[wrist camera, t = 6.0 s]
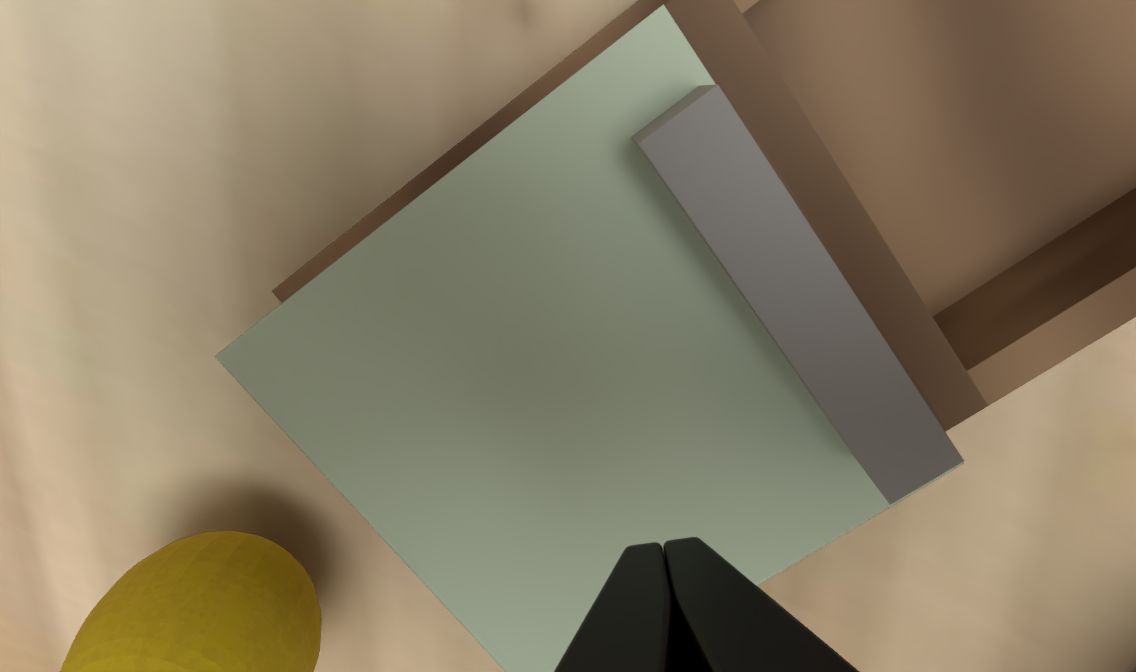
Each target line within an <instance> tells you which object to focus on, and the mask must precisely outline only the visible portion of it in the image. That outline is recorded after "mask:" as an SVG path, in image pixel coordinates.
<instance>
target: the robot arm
mask: <svg viewBox="0 0 1136 672" xmlns="http://www.w3.org/2000/svg"><path fill="white" fill-rule="evenodd" d="M663 551H664V552H663ZM554 672H859V671H858V670H857V669H856V668H855V667H853V666H852V665H851V664H850V663H849V662H847V661H846V660H845V659H844V658H843V657H841V656H840V655H839V654H838V653H837V652H835V651H834V650H833V649H832V648H831V647H829V646H828V645H827V644H826V643H825V642H823V641H822V640H821V639H820V638H819V637H817V636H816V635H815V634H814V633H813V632H811V631H810V630H809V629H808V628H807V627H805V626H804V625H803V624H802V623H801V622H799V621H798V620H797V619H796V618H795V617H793V616H792V615H791V614H790V613H789V612H788V611H786V610H785V609H784V608H783V607H782V606H780V605H779V604H778V603H777V602H776V601H774V600H773V599H772V598H771V597H770V596H768V595H767V594H766V593H765V592H764V591H762V590H761V589H760V588H759V587H758V586H756V585H755V584H754V583H753V582H752V581H750V580H749V579H748V578H747V577H746V576H744V575H743V574H742V573H741V572H740V571H738V570H737V569H736V568H735V567H734V566H732V565H731V564H730V563H729V562H728V561H726V560H725V559H724V558H723V557H722V556H720V555H719V554H718V553H717V552H716V551H714V550H713V549H712V548H711V547H710V546H708V545H707V544H706V543H705V542H704V541H702V540H701V539H700V538H698V537H688V538H681V539H674V540H668V541H666V542H665V543H664V545H663V548H662V546H661V544H659V543H657V542H652V543H644V544H637V545H630V546H628V547H626V548H625V549H624V551H623V553H622V554H621V556H620V558H619V560H618V561H617V563H616V565H615V566H614V568H613V570H612V572H611V573H610V575H609V577H608V579H607V580H606V582H605V584H604V586H603V587H602V589H601V591H600V592H599V594H598V596H597V598H596V599H595V601H594V603H593V605H592V606H591V608H590V610H589V611H588V613H587V615H586V617H585V618H584V620H583V622H582V624H581V625H580V627H579V629H578V631H577V632H576V634H575V636H574V637H573V639H572V641H571V643H570V644H569V646H568V648H567V650H566V651H565V653H564V655H563V656H562V658H561V660H560V662H559V663H558V665H557V667H556V669H555V670H554Z"/></svg>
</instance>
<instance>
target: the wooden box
mask: <svg viewBox="0 0 1136 672" xmlns="http://www.w3.org/2000/svg"><path fill="white" fill-rule="evenodd" d="M663 4H664V6H665V7H666V9H667V10H668V12H669V14H670V15H671V17H672V18H673V20H674V21H675V23H676V24H677V26H678V27H679V29H680V30H681V32H682V33H683V35H684V36H685V38H686V40H687V41H688V43H689V44H690V46H691V47H692V49H693V50H694V52H695V53H696V55H697V56H698V58H699V59H700V61H701V62H702V64H703V66H704V67H705V69H706V70H707V72H708V73H709V75H710V76H711V78H712V79H713V81H714V82H715V84H718V85H719V87H720V88H721V90H722V91H723V93H724V94H725V96H726V97H727V99H728V100H729V102H730V104H731V105H732V107H733V108H734V110H735V111H736V113H737V114H738V116H739V117H740V119H741V120H742V122H743V123H744V125H745V127H746V128H747V130H748V131H749V133H750V134H751V136H752V137H753V139H754V140H755V142H756V143H757V145H758V146H759V148H760V149H761V151H762V153H763V154H764V156H765V157H766V159H767V160H768V162H769V163H770V165H771V166H772V168H773V169H774V171H775V172H776V174H777V175H778V177H779V179H780V180H781V182H782V183H783V185H784V186H785V188H786V189H787V191H788V192H789V194H790V195H791V197H792V198H793V200H794V202H795V203H796V205H797V206H798V208H799V209H800V211H801V212H802V214H803V215H804V217H805V218H806V220H807V221H808V223H809V224H810V226H811V228H812V229H813V231H814V232H815V234H816V235H817V237H818V238H819V240H820V241H821V243H822V244H823V246H824V247H825V249H826V250H827V252H828V254H829V255H830V257H831V258H832V260H833V261H834V263H835V264H836V266H837V267H838V269H839V270H840V272H841V273H842V275H843V277H844V278H845V280H846V281H847V283H848V284H849V286H850V287H851V289H852V290H853V292H854V293H855V295H856V296H857V298H858V299H859V301H860V303H861V304H862V306H863V307H864V309H865V310H866V312H867V313H868V315H869V316H870V318H871V319H872V321H873V322H874V324H875V325H876V327H877V329H878V330H879V332H880V333H881V335H882V336H883V338H884V339H885V341H886V342H887V344H888V345H889V347H890V348H891V350H892V352H893V353H894V355H895V356H896V358H897V359H898V361H899V362H900V364H901V365H902V367H903V368H904V370H905V371H906V373H907V374H908V376H909V378H910V379H911V381H912V382H913V384H914V385H915V387H916V388H917V390H918V391H919V393H920V394H921V396H922V397H923V399H924V400H925V402H926V404H927V405H928V407H929V408H930V410H931V411H932V413H933V414H934V416H935V417H936V419H937V420H938V422H939V423H940V425H941V427H942V428H943V430H944V431H947V430H949V429H950V428H952V427H954V426H955V425H957V424H959V423H960V422H962V421H964V420H965V419H967V418H969V417H970V416H972V415H974V414H975V413H977V412H979V411H980V410H982V409H984V408H985V407H987V406H989V405H990V404H992V403H993V402H995V401H997V400H998V399H1000V398H1002V397H1003V396H1005V395H1007V394H1008V393H1010V392H1012V391H1013V390H1015V389H1017V388H1018V387H1020V386H1022V385H1023V384H1025V383H1027V382H1028V381H1030V380H1032V379H1033V378H1035V377H1037V376H1038V375H1040V374H1042V373H1043V372H1045V371H1047V370H1048V369H1050V368H1052V367H1053V366H1055V365H1057V364H1058V363H1060V362H1062V361H1063V360H1065V359H1066V358H1068V357H1070V356H1071V355H1073V354H1075V353H1076V352H1078V351H1080V350H1081V349H1083V348H1085V347H1086V346H1088V345H1090V344H1091V343H1093V342H1095V341H1096V340H1098V339H1100V338H1101V337H1103V336H1105V335H1106V334H1108V333H1110V332H1111V331H1113V330H1115V329H1116V328H1118V327H1120V326H1121V325H1123V324H1125V323H1126V322H1128V321H1130V320H1131V319H1133V318H1135V317H1136V0H639V1H638V2H636V3H635V4H634V5H633V6H631V7H630V8H629V9H628V10H626V11H625V12H624V13H622V14H621V15H620V16H619V17H617V18H616V19H615V20H614V21H612V22H611V23H610V24H609V25H607V26H606V27H605V28H604V29H602V30H601V31H600V32H598V33H597V34H596V35H595V36H593V37H592V38H591V39H590V40H588V41H587V42H586V43H585V44H583V45H582V46H581V47H580V48H578V49H577V50H576V51H574V52H573V53H572V54H571V55H569V56H568V57H567V58H566V59H564V60H563V61H562V62H561V63H559V64H558V65H557V66H556V67H554V68H553V69H552V70H550V71H549V72H548V73H547V74H545V75H544V76H543V77H542V78H540V79H539V80H538V81H537V82H535V83H534V84H533V85H532V86H530V87H529V88H528V89H526V90H525V91H524V92H523V93H521V94H520V95H519V96H518V97H516V98H515V99H514V100H513V101H511V102H510V103H509V104H508V105H506V106H505V107H504V108H502V109H501V110H500V111H499V112H497V113H496V114H495V115H494V116H492V117H491V118H490V119H489V120H487V121H486V122H485V123H484V124H482V125H481V126H480V127H478V128H477V129H476V130H475V131H473V132H472V133H471V134H470V135H468V136H467V137H466V138H465V139H463V140H462V141H461V142H460V143H458V144H457V145H456V146H454V147H453V148H452V149H451V150H449V151H448V152H447V153H446V154H444V155H443V156H442V157H441V158H439V159H438V160H437V161H436V162H434V163H433V164H432V165H430V166H429V167H428V168H427V169H425V170H424V171H423V172H422V173H420V174H419V175H418V176H417V177H415V178H414V179H413V180H411V181H410V182H409V183H408V184H406V185H405V186H404V187H403V188H401V189H400V190H399V191H398V192H396V193H395V194H394V195H393V196H391V197H390V198H389V199H387V200H386V201H385V202H384V203H382V204H381V205H380V206H379V207H377V208H376V209H375V210H374V211H372V212H371V213H370V214H369V215H367V216H366V217H365V218H363V219H362V220H361V221H360V222H358V223H357V224H356V225H355V226H353V227H352V228H351V229H350V230H348V231H347V232H346V233H345V234H343V235H342V236H341V237H339V238H338V239H337V240H336V241H334V242H333V243H332V244H331V245H329V246H328V247H327V248H326V249H324V250H323V251H322V252H321V253H319V254H318V255H317V256H315V257H314V258H313V259H312V260H310V261H309V262H308V263H307V264H305V265H304V266H303V267H302V268H300V269H299V270H298V271H297V272H295V273H294V274H293V275H291V276H290V277H289V278H288V279H286V280H285V281H284V282H283V283H281V284H280V285H279V286H278V287H276V288H275V289H274V290H273V291H272V292H273V293H274V294H275V296H276V297H277V298H278V299H279V300H280V301H281V302H282V303H283V302H285V301H286V300H287V299H288V298H290V297H291V296H292V295H293V294H295V293H296V292H297V291H299V290H300V289H301V288H302V287H304V286H305V285H306V284H307V283H309V282H310V281H311V280H313V279H314V278H315V277H316V276H318V275H319V274H320V273H321V272H323V271H324V270H325V269H327V268H328V267H329V266H330V265H332V264H333V263H334V262H336V261H337V260H338V259H339V258H341V257H342V256H343V255H344V254H346V253H347V252H348V251H350V250H351V249H352V248H353V247H355V246H356V245H357V244H358V243H360V242H361V241H362V240H364V239H365V238H366V237H367V236H369V235H370V234H371V233H372V232H374V231H375V230H376V229H378V228H379V227H380V226H381V225H383V224H384V223H385V222H387V221H388V220H389V219H390V218H392V217H393V216H394V215H395V214H397V213H398V212H399V211H401V210H402V209H403V208H404V207H406V206H407V205H408V204H409V203H411V202H412V201H413V200H415V199H416V198H417V197H418V196H420V195H421V194H422V193H423V192H425V191H426V190H427V189H429V188H430V187H431V186H432V185H434V184H435V183H436V182H438V181H439V180H440V179H441V178H443V177H444V176H445V175H446V174H448V173H449V172H450V171H452V170H453V169H454V168H455V167H457V166H458V165H459V164H460V163H462V162H463V161H464V160H466V159H467V158H468V157H469V156H471V155H472V154H473V153H474V152H476V151H477V150H478V149H480V148H481V147H482V146H483V145H485V144H486V143H487V142H488V141H490V140H491V139H492V138H494V137H495V136H496V135H497V134H499V133H500V132H501V131H503V130H504V129H505V128H506V127H508V126H509V125H510V124H511V123H513V122H514V121H515V120H517V119H518V118H519V117H520V116H522V115H523V114H524V113H525V112H527V111H528V110H529V109H531V108H532V107H533V106H534V105H536V104H537V103H538V102H539V101H541V100H542V99H543V98H545V97H546V96H547V95H548V94H550V93H551V92H552V91H554V90H555V89H556V88H557V87H559V86H560V85H561V84H562V83H564V82H565V81H566V80H568V79H569V78H570V77H571V76H573V75H574V74H575V73H576V72H578V71H579V70H580V69H582V68H583V67H584V66H585V65H587V64H588V63H589V62H590V61H592V60H593V59H594V58H596V57H597V56H598V55H599V54H601V53H602V52H603V51H605V50H606V49H607V48H608V47H610V46H611V45H612V44H613V43H615V42H616V41H617V40H619V39H620V38H621V37H622V36H624V35H625V34H626V33H627V32H629V31H630V30H631V29H633V28H634V27H635V26H636V25H638V24H639V23H640V22H641V21H643V20H644V19H645V18H647V17H648V16H649V15H650V14H652V13H653V12H654V11H655V10H657V9H658V8H659V7H661V6H662V5H663Z"/></svg>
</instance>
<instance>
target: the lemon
mask: <svg viewBox="0 0 1136 672" xmlns="http://www.w3.org/2000/svg"><path fill="white" fill-rule="evenodd" d="M321 621H322V618H321V610H320V606H319V602H318V598H317V594H316V590H315V587H314V585H313V583H312V581H311V580H310V578H309V576H308V574H307V572H306V571H305V569H304V568H303V567H302V565H301V564H300V563H299V562H298V561H297V560H296V559H295V558H294V557H293V556H292V555H291V553H289V552H288V551H287V550H285V549H284V548H282V547H281V546H279V545H278V544H276V543H275V542H273V541H270V540H268V539H265V538H263V537H261V536H258V535H254V534H249V533H243V532H238V531H213V532H205V533H201V534H198V535H194V536H190V537H187V538H183V539H180V540H177V541H175V542H173V543H171V544H169V545H167V546H165V547H163V548H162V549H160V550H158V551H157V552H155V553H153V554H151V555H150V556H148V557H146V558H145V559H143V560H142V561H140V562H139V563H137V564H136V565H135V566H134V567H132V568H131V569H130V570H129V571H127V572H126V573H125V574H124V575H123V576H122V577H121V578H120V579H119V580H118V581H117V582H116V583H115V585H114V586H113V587H112V588H111V589H110V590H109V591H108V592H107V593H106V594H105V596H104V597H103V598H102V599H101V600H100V601H99V602H98V604H97V605H96V606H95V607H94V608H93V610H92V611H91V613H90V614H89V615H88V617H87V618H86V620H85V621H84V623H83V625H82V626H81V628H80V630H79V631H78V633H77V635H76V637H75V639H74V641H73V643H72V645H71V648H70V650H69V652H68V654H67V657H66V659H65V661H64V663H63V666H62V668H61V671H60V672H314V669H315V666H316V663H317V659H318V655H319V650H320V640H321Z"/></svg>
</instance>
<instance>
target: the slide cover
mask: <svg viewBox="0 0 1136 672" xmlns="http://www.w3.org/2000/svg"><path fill="white" fill-rule="evenodd" d="M215 357H216V358H217V360H218V361H219V362H220V363H221V364H222V365H223V366H224V367H225V368H226V369H227V370H228V371H229V373H230V374H231V375H232V376H233V377H234V378H235V379H236V380H237V381H238V382H239V383H240V384H241V386H242V387H243V388H244V389H245V390H246V391H247V392H248V393H249V394H250V395H251V396H252V397H253V399H254V400H255V401H256V402H257V403H258V404H259V405H260V406H261V407H262V408H263V409H264V411H265V412H266V413H267V414H268V415H269V416H270V417H271V418H272V419H273V420H274V421H275V422H276V424H277V425H278V426H279V427H280V428H281V429H282V430H283V431H284V432H285V433H286V434H287V435H288V437H289V438H290V439H291V440H292V441H293V442H294V443H295V444H296V445H297V446H298V447H299V448H300V450H301V451H302V452H303V453H304V454H305V455H306V456H307V457H308V458H309V459H310V460H311V461H312V463H313V464H314V465H315V466H316V467H317V468H318V469H319V470H320V471H321V472H322V473H323V474H324V476H325V477H326V478H327V479H328V480H329V481H330V482H331V483H332V484H333V485H334V486H335V487H336V489H337V490H338V491H339V492H340V493H341V494H342V495H343V496H344V497H345V498H346V499H347V500H348V502H349V503H350V504H351V505H352V506H353V507H354V508H355V509H356V510H357V511H358V512H359V514H360V515H361V516H362V517H363V518H364V519H365V520H366V521H367V522H368V523H369V524H370V525H371V527H372V528H373V529H374V530H375V531H376V532H377V533H378V534H379V535H380V536H381V537H382V538H383V540H384V541H385V542H386V543H387V544H388V545H389V546H390V547H391V548H392V549H393V550H394V551H395V553H396V554H397V555H398V556H399V557H400V558H401V559H402V560H403V561H404V562H405V563H406V564H407V566H408V567H409V568H410V569H411V570H412V571H413V572H414V573H415V574H416V575H417V576H418V577H419V579H420V580H421V581H422V582H423V583H424V584H425V585H426V586H427V587H428V588H429V589H430V590H431V592H432V593H433V594H434V595H435V596H436V597H437V598H438V599H439V600H440V601H441V602H442V604H443V605H444V606H445V607H446V608H447V609H448V610H449V611H450V612H451V613H452V614H453V615H454V617H455V618H456V619H457V620H458V621H459V622H460V623H461V624H462V625H463V626H464V627H465V628H466V630H467V631H468V632H469V633H470V634H471V635H472V636H473V637H474V638H475V639H476V640H477V641H478V643H479V644H480V645H481V646H482V647H483V648H484V649H485V650H486V651H487V652H488V653H489V654H490V656H491V657H492V658H493V659H494V660H495V661H496V662H497V663H498V664H499V665H500V666H501V667H502V669H503V670H504V671H505V672H554V670H555V669H556V667H557V665H558V663H559V662H560V660H561V658H562V656H563V655H564V653H565V651H566V650H567V648H568V646H569V644H570V643H571V641H572V639H573V637H574V636H575V634H576V632H577V631H578V629H579V627H580V625H581V624H582V622H583V620H584V618H585V617H586V615H587V613H588V611H589V610H590V608H591V606H592V605H593V603H594V601H595V599H596V598H597V596H598V594H599V592H600V591H601V589H602V587H603V586H604V584H605V582H606V580H607V579H608V577H609V575H610V573H611V572H612V570H613V568H614V566H615V565H616V563H617V561H618V560H619V558H620V556H621V554H622V553H623V551H624V549H625V548H626V547H628V546H630V545H637V544H644V543H652V542H657V543H659V544H661V546H662V548H663V545H664V543H665V542H666V541H668V540H674V539H681V538H688V537H698V538H700V539H701V540H702V541H704V542H705V543H706V544H707V545H708V546H710V547H711V548H712V549H713V550H714V551H716V552H717V553H718V554H719V555H720V556H722V557H723V558H724V559H725V560H726V561H728V562H729V563H730V564H731V565H732V566H734V567H735V568H736V569H737V570H738V571H740V572H741V573H742V574H743V575H744V576H746V577H747V578H748V579H749V580H750V581H752V582H753V583H754V584H755V585H756V586H757V585H759V584H761V583H762V582H764V581H766V580H768V579H769V578H771V577H773V576H774V575H776V574H778V573H779V572H781V571H783V570H784V569H786V568H788V567H790V566H791V565H793V564H795V563H796V562H798V561H800V560H801V559H803V558H805V557H807V556H808V555H810V554H812V553H813V552H815V551H817V550H818V549H820V548H822V547H823V546H825V545H827V544H829V543H830V542H832V541H834V540H835V539H837V538H839V537H840V536H842V535H844V534H845V533H847V532H849V531H851V530H852V529H854V528H856V527H857V526H859V525H861V524H862V523H864V522H866V521H867V520H869V519H871V518H873V517H874V516H876V515H878V514H879V513H881V512H883V511H884V510H886V509H888V508H889V507H891V506H893V505H895V504H896V503H898V502H900V501H901V500H903V499H905V498H906V497H908V496H910V495H911V494H913V493H915V492H917V491H918V490H920V489H922V488H923V487H925V486H927V485H928V484H930V483H932V482H933V481H935V480H937V479H939V478H940V477H942V476H944V475H945V474H947V473H949V472H950V471H952V470H954V469H955V468H957V467H959V466H961V465H962V464H964V463H963V461H964V460H963V459H962V457H961V456H960V454H959V453H958V451H957V449H956V448H955V446H954V445H953V443H952V442H951V440H950V439H949V437H948V436H947V434H946V433H945V431H944V430H943V428H942V427H941V425H940V423H939V422H938V420H937V419H936V417H935V416H934V414H933V413H932V411H931V410H930V408H929V407H928V405H927V404H926V402H925V400H924V399H923V397H922V396H921V394H920V393H919V391H918V390H917V388H916V387H915V385H914V384H913V382H912V381H911V379H910V378H909V376H908V374H907V373H906V371H905V370H904V368H903V367H902V365H901V364H900V362H899V361H898V359H897V358H896V356H895V355H894V353H893V352H892V350H891V348H890V347H889V345H888V344H887V342H886V341H885V339H884V338H883V336H882V335H881V333H880V332H879V330H878V329H877V327H876V325H875V324H874V322H873V321H872V319H871V318H870V316H869V315H868V313H867V312H866V310H865V309H864V307H863V306H862V304H861V303H860V301H859V299H858V298H857V296H856V295H855V293H854V292H853V290H852V289H851V287H850V286H849V284H848V283H847V281H846V280H845V278H844V277H843V275H842V273H841V272H840V270H839V269H838V267H837V266H836V264H835V263H834V261H833V260H832V258H831V257H830V255H829V254H828V252H827V250H826V249H825V247H824V246H823V244H822V243H821V241H820V240H819V238H818V237H817V235H816V234H815V232H814V231H813V229H812V228H811V226H810V224H809V223H808V221H807V220H806V218H805V217H804V215H803V214H802V212H801V211H800V209H799V208H798V206H797V205H796V203H795V202H794V200H793V198H792V197H791V195H790V194H789V192H788V191H787V189H786V188H785V186H784V185H783V183H782V182H781V180H780V179H779V177H778V175H777V174H776V172H775V171H774V169H773V168H772V166H771V165H770V163H769V162H768V160H767V159H766V157H765V156H764V154H763V153H762V151H761V149H760V148H759V146H758V145H757V143H756V142H755V140H754V139H753V137H752V136H751V134H750V133H749V131H748V130H747V128H746V127H745V125H744V123H743V122H742V120H741V119H740V117H739V116H738V114H737V113H736V111H735V110H734V108H733V107H732V105H731V104H730V102H729V100H728V99H727V97H726V96H725V94H724V93H723V91H722V90H721V88H720V87H719V85H718V84H715V82H714V81H713V79H712V78H711V76H710V75H709V73H708V72H707V70H706V69H705V67H704V66H703V64H702V62H701V61H700V59H699V58H698V56H697V55H696V53H695V52H694V50H693V49H692V47H691V46H690V44H689V43H688V41H687V40H686V38H685V36H684V35H683V33H682V32H681V30H680V29H679V27H678V26H677V24H676V23H675V21H674V20H673V18H672V17H671V15H670V14H669V12H668V10H667V9H666V7H665V6H664V4H663V5H662V6H661V7H659V8H658V9H657V10H655V11H654V12H653V13H652V14H650V15H649V16H648V17H647V18H645V19H644V20H643V21H641V22H640V23H639V24H638V25H636V26H635V27H634V28H633V29H631V30H630V31H629V32H627V33H626V34H625V35H624V36H622V37H621V38H620V39H619V40H617V41H616V42H615V43H613V44H612V45H611V46H610V47H608V48H607V49H606V50H605V51H603V52H602V53H601V54H599V55H598V56H597V57H596V58H594V59H593V60H592V61H590V62H589V63H588V64H587V65H585V66H584V67H583V68H582V69H580V70H579V71H578V72H576V73H575V74H574V75H573V76H571V77H570V78H569V79H568V80H566V81H565V82H564V83H562V84H561V85H560V86H559V87H557V88H556V89H555V90H554V91H552V92H551V93H550V94H548V95H547V96H546V97H545V98H543V99H542V100H541V101H539V102H538V103H537V104H536V105H534V106H533V107H532V108H531V109H529V110H528V111H527V112H525V113H524V114H523V115H522V116H520V117H519V118H518V119H517V120H515V121H514V122H513V123H511V124H510V125H509V126H508V127H506V128H505V129H504V130H503V131H501V132H500V133H499V134H497V135H496V136H495V137H494V138H492V139H491V140H490V141H488V142H487V143H486V144H485V145H483V146H482V147H481V148H480V149H478V150H477V151H476V152H474V153H473V154H472V155H471V156H469V157H468V158H467V159H466V160H464V161H463V162H462V163H460V164H459V165H458V166H457V167H455V168H454V169H453V170H452V171H450V172H449V173H448V174H446V175H445V176H444V177H443V178H441V179H440V180H439V181H438V182H436V183H435V184H434V185H432V186H431V187H430V188H429V189H427V190H426V191H425V192H423V193H422V194H421V195H420V196H418V197H417V198H416V199H415V200H413V201H412V202H411V203H409V204H408V205H407V206H406V207H404V208H403V209H402V210H401V211H399V212H398V213H397V214H395V215H394V216H393V217H392V218H390V219H389V220H388V221H387V222H385V223H384V224H383V225H381V226H380V227H379V228H378V229H376V230H375V231H374V232H372V233H371V234H370V235H369V236H367V237H366V238H365V239H364V240H362V241H361V242H360V243H358V244H357V245H356V246H355V247H353V248H352V249H351V250H350V251H348V252H347V253H346V254H344V255H343V256H342V257H341V258H339V259H338V260H337V261H336V262H334V263H333V264H332V265H330V266H329V267H328V268H327V269H325V270H324V271H323V272H321V273H320V274H319V275H318V276H316V277H315V278H314V279H313V280H311V281H310V282H309V283H307V284H306V285H305V286H304V287H302V288H301V289H300V290H299V291H297V292H296V293H295V294H293V295H292V296H291V297H290V298H288V299H287V300H286V301H285V302H283V303H282V304H281V305H279V306H278V307H277V308H276V309H274V310H273V311H272V312H271V313H269V314H268V315H267V316H265V317H264V318H263V319H262V320H260V321H259V322H258V323H256V324H255V325H254V326H253V327H251V328H250V329H249V330H248V331H246V332H245V333H244V334H242V335H241V336H240V337H239V338H237V339H236V340H235V341H234V342H232V343H231V344H230V345H228V346H227V347H226V348H225V349H223V350H222V351H221V352H220V353H218V354H217V355H216V356H215ZM663 552H664V551H663Z"/></svg>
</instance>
